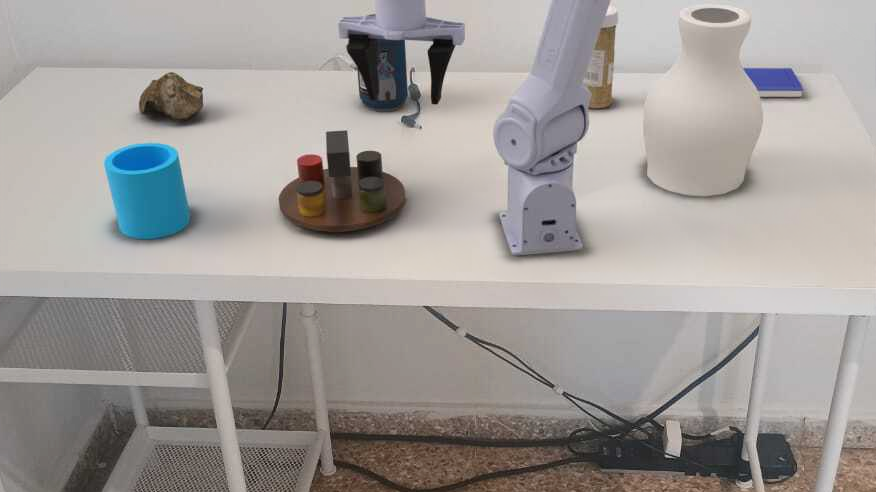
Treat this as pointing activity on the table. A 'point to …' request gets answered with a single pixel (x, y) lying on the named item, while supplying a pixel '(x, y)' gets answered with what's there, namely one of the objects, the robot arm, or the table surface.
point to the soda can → (388, 76)
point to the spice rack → (341, 190)
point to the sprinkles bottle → (602, 63)
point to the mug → (147, 190)
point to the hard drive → (775, 82)
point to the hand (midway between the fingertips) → (405, 99)
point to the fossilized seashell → (171, 98)
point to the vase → (704, 107)
